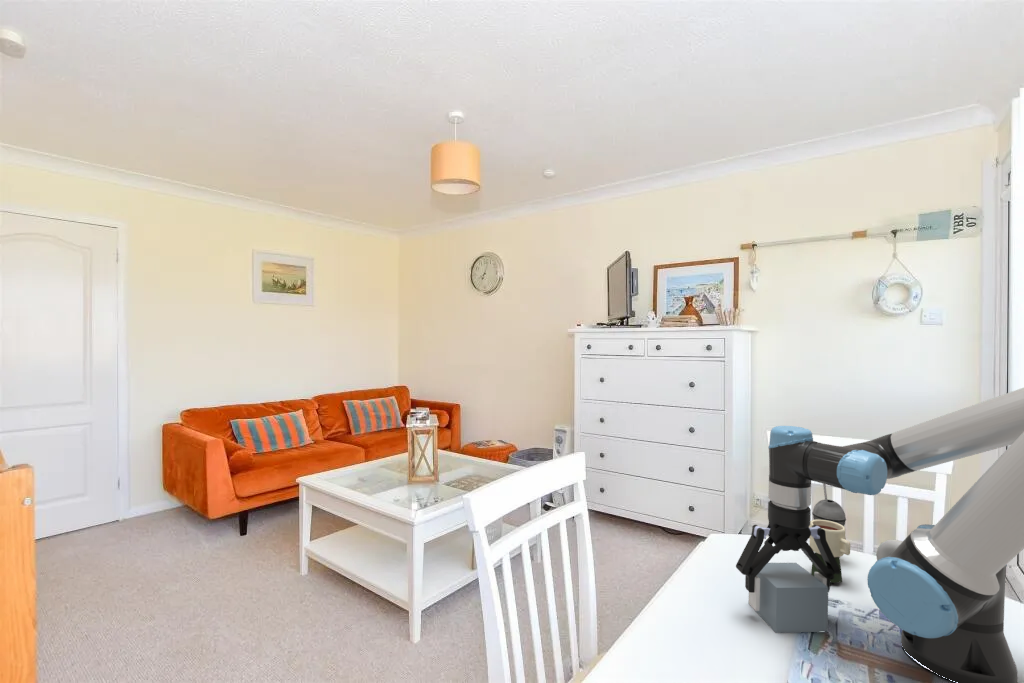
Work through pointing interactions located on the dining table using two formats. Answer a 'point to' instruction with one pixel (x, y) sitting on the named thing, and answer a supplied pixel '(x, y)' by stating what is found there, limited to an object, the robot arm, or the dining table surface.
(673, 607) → the dining table surface
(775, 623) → the grey rectangular box
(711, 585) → the dining table surface
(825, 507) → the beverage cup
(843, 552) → the character mug
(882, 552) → the donut
